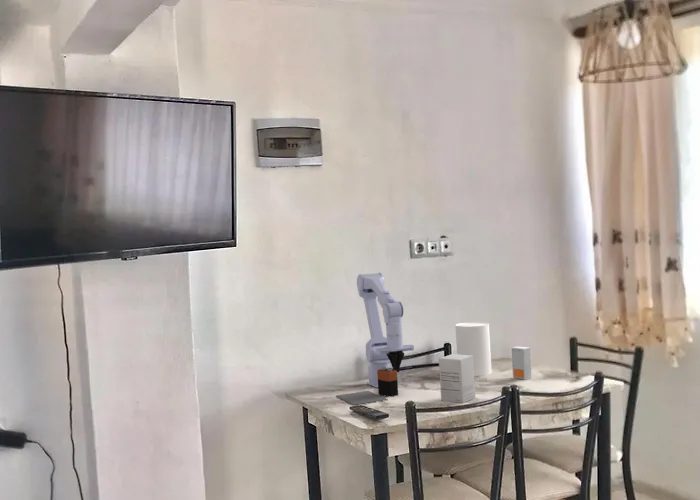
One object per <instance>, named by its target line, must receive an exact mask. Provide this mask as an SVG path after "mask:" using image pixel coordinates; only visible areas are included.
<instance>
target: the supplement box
mask: <svg viewBox="0 0 700 500" xmlns="http://www.w3.org/2000/svg"><path fill="white" fill-rule="evenodd" d="M438 367H439V382H440V383H439V384H440V399H441V400H440V401H441V402H452V403H458V404H459V403H461V404H464V403H466V402H468V401H471V400H473V399H475V398H476V386H475V385H476V384H475V376H474V367H473V356H472V355H458V354H457V353H455V354H454V353H452V354H451V353H450V354H449V355H446V356H443V357H439V358H438Z"/></svg>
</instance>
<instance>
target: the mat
mask: <svg viewBox="0 0 700 500" xmlns="http://www.w3.org/2000/svg"><path fill="white" fill-rule="evenodd" d="M335 396H336V398H337V399H340V400H341V401H344V402H346V403H348V404H350V405H351V406H353V405H354V406H360V405H359V404H361V405H366V404H365V403H368V404H372V403H371V402H374V403H377V402H376V401H381V402H384V401H383V400H387V401H388V398H385V397H383V396H382V395H379V394H377V393H374V392H372V391H370V390H365V391H358V392H351V393H345V394H344V393H343V394H337V395H335Z"/></svg>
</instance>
